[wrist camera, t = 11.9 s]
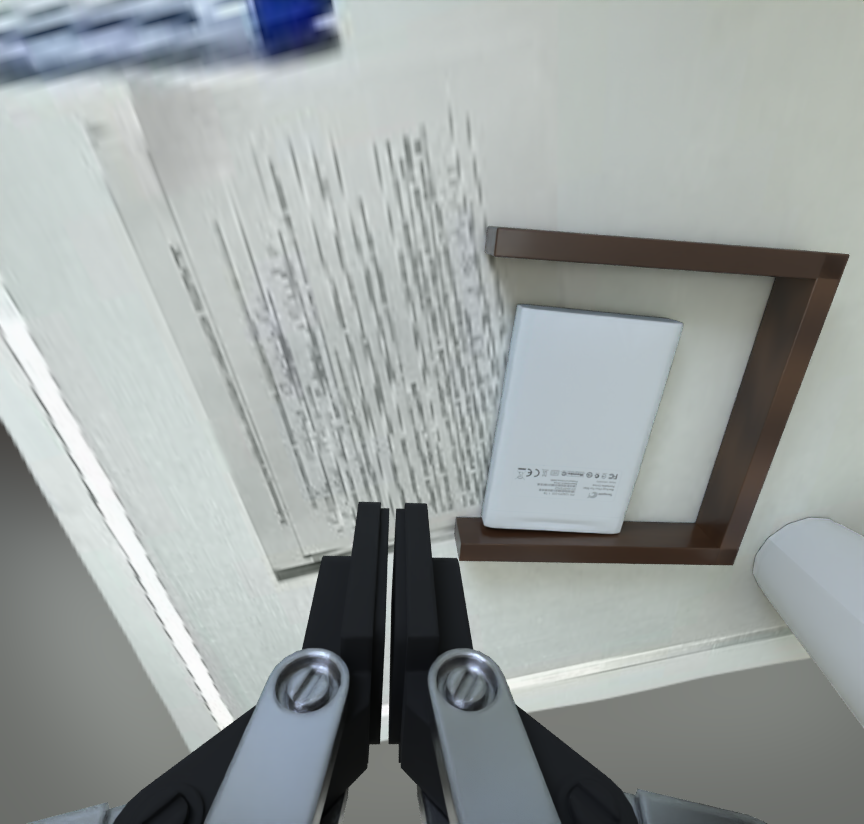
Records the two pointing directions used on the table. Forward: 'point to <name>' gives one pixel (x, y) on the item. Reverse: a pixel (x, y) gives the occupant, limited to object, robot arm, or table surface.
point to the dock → (750, 419)
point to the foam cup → (820, 598)
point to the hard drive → (575, 417)
